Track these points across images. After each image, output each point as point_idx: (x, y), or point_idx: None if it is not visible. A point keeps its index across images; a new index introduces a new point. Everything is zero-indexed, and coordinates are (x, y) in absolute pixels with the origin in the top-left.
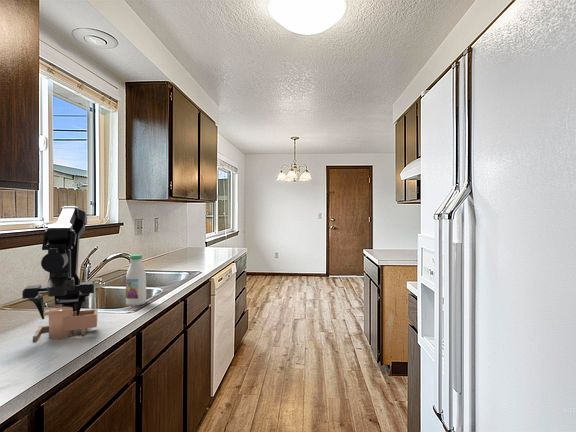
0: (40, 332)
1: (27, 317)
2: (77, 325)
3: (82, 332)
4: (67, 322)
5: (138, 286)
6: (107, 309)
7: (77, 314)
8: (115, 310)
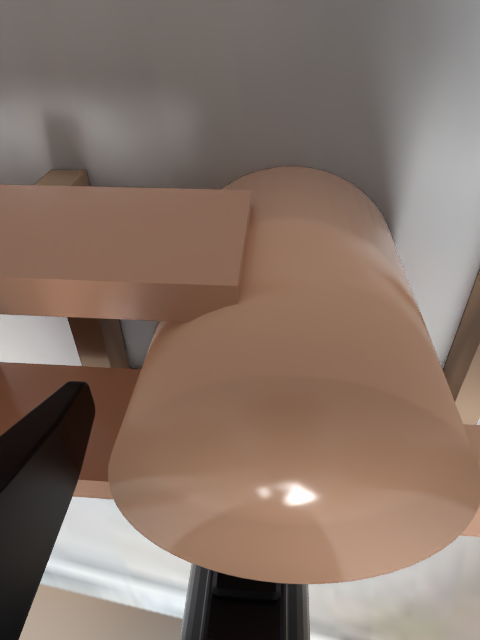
0: (459, 358)
1: (473, 619)
2: (75, 209)
3: (63, 180)
4: (184, 237)
5: None
6: (83, 588)
7: (70, 389)
8: None
